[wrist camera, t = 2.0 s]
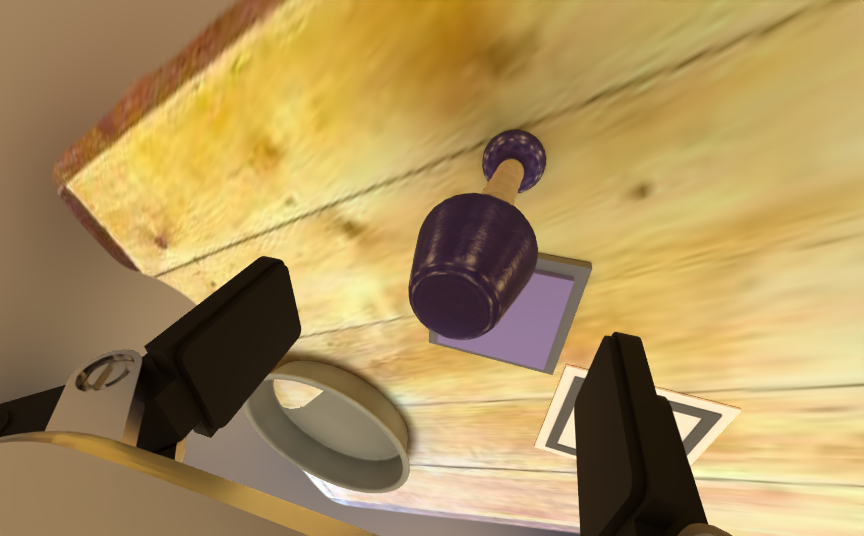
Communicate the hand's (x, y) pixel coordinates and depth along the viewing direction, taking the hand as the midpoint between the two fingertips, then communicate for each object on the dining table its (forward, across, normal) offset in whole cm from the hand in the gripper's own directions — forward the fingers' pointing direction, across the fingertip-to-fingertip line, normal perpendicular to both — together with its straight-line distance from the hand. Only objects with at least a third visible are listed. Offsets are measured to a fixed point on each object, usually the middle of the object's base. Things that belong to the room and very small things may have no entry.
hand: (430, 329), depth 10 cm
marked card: (+17, -16, +25) cm, 34 cm away
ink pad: (+18, -2, +13) cm, 22 cm away
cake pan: (+18, +17, +39) cm, 46 cm away
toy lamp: (+18, -1, 0) cm, 18 cm away
